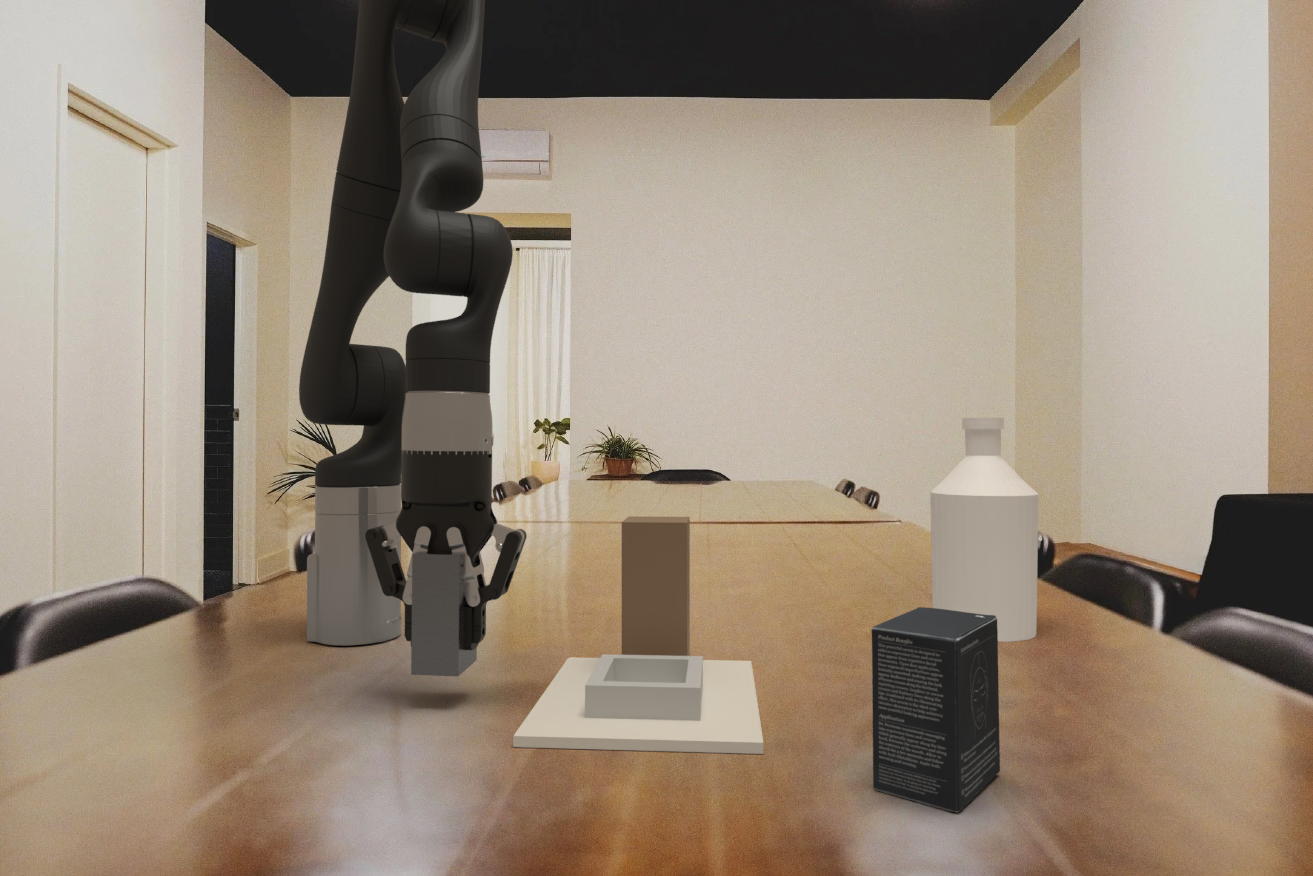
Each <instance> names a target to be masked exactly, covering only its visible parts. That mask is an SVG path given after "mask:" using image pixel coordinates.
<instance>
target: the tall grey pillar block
mask: <svg viewBox="0 0 1313 876" xmlns="http://www.w3.org/2000/svg"><path fill="white" fill-rule="evenodd" d="M411 556H412V641H410V648H411V651H410V652H411V653H410V654H411V656H410V657H411V661H410V664H411V665H410V675H412V676H433V677H434V676H437V677H440V676H441V677H460V675H462V674H463V673H464V672H466V670H467V669H468V668H470V666H471V667H472V665H473V664H474V663H475V662H476V661H478V660H477V659H478V653H477V652H478V646H477V647H476V648H475V649H474V650H465V649H464V607H466V606H467V601H466V598H465V594H464V580H463V576H462V573H463V567H464V564H463V554H455V553H452V552H428V553H414V554H412V553H411ZM474 561H475V560H473V561H472V562H471V564H472V565H473V562H474Z"/></svg>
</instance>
